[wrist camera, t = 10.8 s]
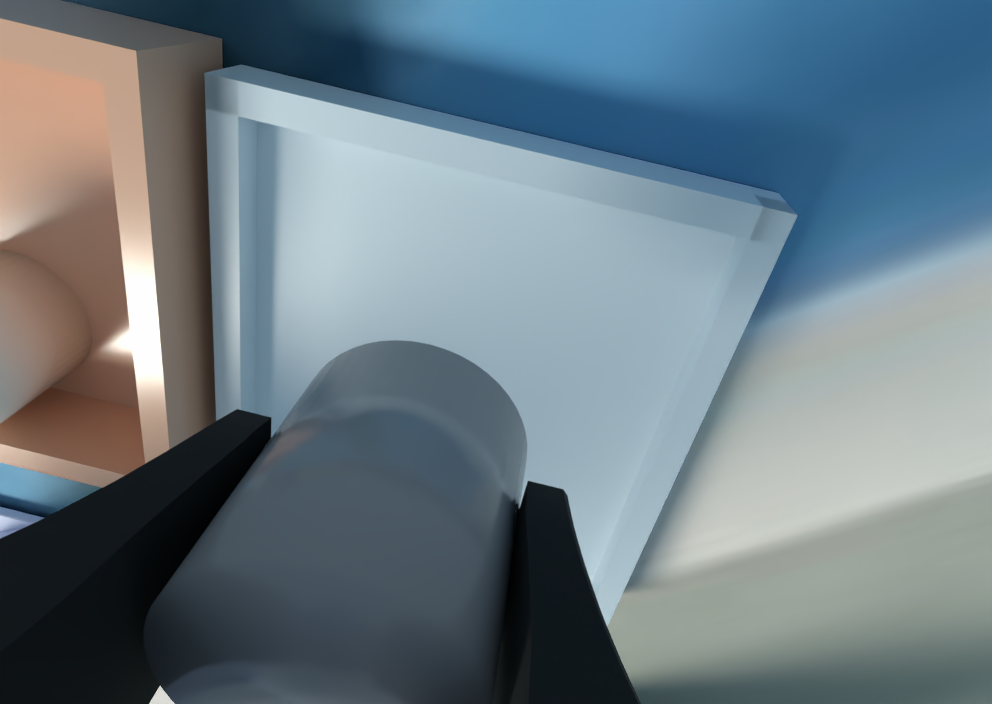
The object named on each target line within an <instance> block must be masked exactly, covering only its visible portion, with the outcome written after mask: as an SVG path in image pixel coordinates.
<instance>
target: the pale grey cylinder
mask: <svg viewBox="0 0 992 704" xmlns="http://www.w3.org/2000/svg"><path fill="white" fill-rule="evenodd" d="M91 338H92V336H91V328H90V324H89V321H88V318H87V315H86V313H85V311H84V309H83V307H82V305H81V304H80V302H79V300H78V299H77V297H76V296H75V295H74V293H73V292H72V291H71V290H70V288H69V287H68V286H67V285H66V284H65V283H64V282H63V281H62V280H61V279H60V278H59V277H57V276H56V275H55V274H54V273H53V272H51V271H50V270H49V269H47V268H46V267H44V266H43V265H41V264H40V263H38V262H36V261H34V260H32V259H30V258H28V257H26V256H23V255H21V254H18V253H14V252H11V251H5V250H0V424H1V423H2V422H4V421H5V420H6V419H8V418H9V417H10V416H12V415H13V414H14V413H16V412H17V411H18V410H20V409H21V408H23V407H24V406H25V405H27V404H28V403H29V402H31V401H32V400H33V399H35V398H36V397H37V396H39V395H40V394H42V393H43V392H44V391H46V390H47V389H48V388H50V387H51V386H52V385H54V384H55V383H57V382H58V381H59V380H61V379H62V378H63V377H65V376H66V375H67V374H69V373H70V372H71V371H73V370H74V369H76V368H77V367H78V366H80V365H81V364H82V363H83V362H84V360H85V359H86V358H87V356H88V354H89V351H90V347H91Z"/></svg>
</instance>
